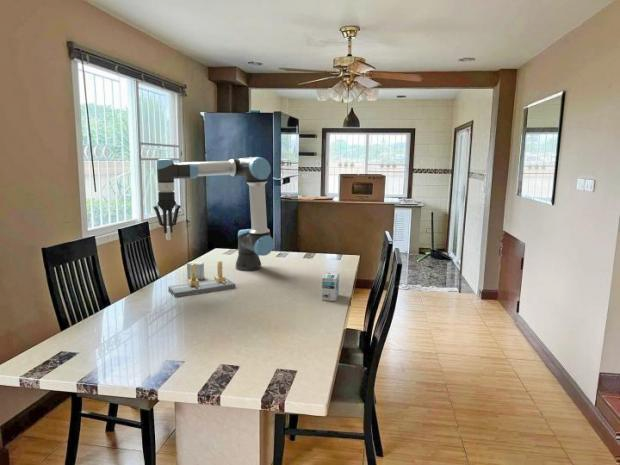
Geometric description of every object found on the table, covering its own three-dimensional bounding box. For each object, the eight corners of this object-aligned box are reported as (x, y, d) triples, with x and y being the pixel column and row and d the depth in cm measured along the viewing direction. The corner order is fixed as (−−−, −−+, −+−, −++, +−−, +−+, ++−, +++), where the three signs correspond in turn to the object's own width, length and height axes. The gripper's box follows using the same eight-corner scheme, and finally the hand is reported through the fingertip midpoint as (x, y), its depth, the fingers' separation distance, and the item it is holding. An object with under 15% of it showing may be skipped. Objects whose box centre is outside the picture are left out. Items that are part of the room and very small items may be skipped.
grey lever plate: (226, 281, 231) (226, 258, 229) (235, 287, 221) (235, 263, 219) (168, 290, 215) (167, 265, 213) (174, 297, 205) (173, 271, 203)
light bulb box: (335, 301, 202) (336, 278, 200) (321, 300, 203) (321, 277, 201) (339, 294, 212) (339, 272, 210) (325, 293, 214) (325, 272, 212)
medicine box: (204, 277, 238) (204, 262, 237) (201, 280, 234) (201, 264, 232) (190, 277, 239) (189, 261, 238) (187, 279, 235) (186, 263, 233)
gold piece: (196, 282, 221) (195, 262, 219) (201, 287, 213) (201, 266, 211) (188, 283, 219) (187, 263, 217) (193, 288, 211) (192, 267, 209)
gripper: (154, 192, 205) (156, 242, 209) (182, 191, 212) (183, 239, 216) (150, 191, 211) (152, 239, 215) (177, 190, 218) (179, 237, 222)
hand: (168, 239), depth 216 cm, fingers closed
